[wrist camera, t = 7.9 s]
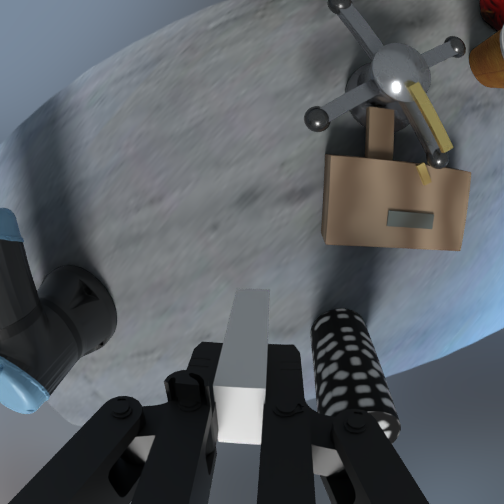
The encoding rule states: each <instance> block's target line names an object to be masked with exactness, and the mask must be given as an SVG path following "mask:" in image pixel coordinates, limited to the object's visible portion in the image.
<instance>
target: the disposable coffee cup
mask: <svg viewBox="0 0 504 504" xmlns="http://www.w3.org/2000/svg"><path fill="white" fill-rule="evenodd" d="M469 63H470V67H471V70H472V72H473V74H474V76H475V77H476V79H477V80H478V81H479V82H480V83H481V84H483V85H484V86H486V87H490V88H504V25H503V27H502V29H501V30H499V31H498V32H496V33H495V34H494V35H492V36H491V37H489V38H488V39H487V40H485V41H484V42H482V43H481V44H480V45H478V46H477V47H475V48H474V49H473V50H472V51H471V53H470V56H469Z"/></svg>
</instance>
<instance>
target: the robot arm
mask: <svg viewBox="0 0 504 504" xmlns="http://www.w3.org/2000/svg"><path fill="white" fill-rule="evenodd" d="M23 242H24V240H23V238H22V237H21V234H20V231H19V228H18V224H17V220H16V217H15V215H14V213H13V212H12V211H11V210H9V209H7V208H0V403H2V404H3V405H5V406H6V407H8V408H10V409H11V410H14V411H16V412H19V413H22V414H31V413H33V412H35V411H36V410H37V409H38V408H39V407H40V406H41V405H42V404H43V403H44V402H45V401H47V400H48V399H49V397H50V395H51V394H52V393H53V391H54V390H55V389H56V388H57V386H58V385H59V384H60V382H61V381H62V380H63V379H64V377H65V376H66V375H67V373H68V372H69V371H70V370H71V368H72V367H73V366H74V365H75V363H76V362H77V361H78V360H79V359H80V358H81V357H83V356H85V355H87V354H89V353H91V352H94V351H95V350H98V349H100V348H101V347H103V346H104V345H105V344H106V343H107V342H108V341H109V340H110V338H111V337H112V336H113V334H114V332H115V330H116V325H117V315H116V310H115V306H114V304H113V301H112V299H111V297H110V295H109V293H108V292H107V290H106V289H105V287H104V286H103V285H102V284H101V283H100V281H99V280H98V279H97V278H95V277H94V276H93V275H92V274H90V273H89V272H87V271H86V270H84V269H82V268H79V267H76V266H71V265H66V266H61V267H59V268H57V269H55V270H54V271H52V272H51V273H49V274H48V275H47V276H46V277H45V279H44V280H43V282H42V284H41V286H40V288H39V289H38V291H37V290H36V287H35V284H34V281H33V277H32V274H31V271H30V267H29V264H28V260H27V256H26V252H25V248H24V244H23ZM269 295H270V290H265V289H237V290H236V294H235V298H234V302H233V306H232V310H231V314H230V318H229V322H228V326H227V330H226V334H225V338H224V342H223V343H213V342H201V343H200V344H199V345H198V346H197V347H196V348H195V349H194V351H193V353H192V356H191V359H190V362H189V364H188V367H187V370H181V371H177V372H174V373H172V374H171V375H169V376H168V377H167V378H166V379H165V381H164V384H165V389H166V394H167V398H168V402H167V403H164V404H161V405H155V406H143V407H142V405H141V404H140V402H139V401H138V400H136V399H134V398H133V397H128V396H118V397H115V398H112V399H110V400H109V401H107V402H106V403H105V404H104V405H103V406H102V407H101V408H100V409H99V410H98V411H97V412H96V413H95V414H94V415H93V416H92V417H91V418H90V419H89V420H88V421H87V422H86V423H85V424H84V425H83V427H82V428H81V429H80V430H79V431H78V432H77V433H76V434H75V435H74V436H73V437H72V438H71V439H70V440H69V441H68V442H67V443H66V444H65V445H64V446H63V447H62V448H61V449H60V450H59V451H58V452H57V454H55V456H54V457H53V458H52V459H51V460H50V461H49V462H48V463H47V464H46V465H45V466H44V467H43V468H42V469H41V470H40V471H39V472H38V473H37V474H36V475H35V476H34V477H33V478H32V479H31V480H30V481H29V483H28V484H27V485H26V486H25V487H24V488H23V489H22V490H21V491H20V492H19V493H18V494H17V495H16V496H15V497H14V498H13V499H12V500H11V501H10V502H9V503H8V504H130V502H131V504H208V500H209V495H210V489H211V484H212V478H213V473H214V467H215V461H216V456H217V451H216V441H217V437H218V441H219V442H228V443H243V444H261V452H260V467H259V481H258V495H257V504H316V503H315V487H314V474H318V475H320V477H321V479H322V482H323V484H324V487H325V489H326V491H327V494H328V496H329V499H330V501H331V504H429V502H428V501H427V500H426V498H425V496H424V494H423V493H422V491H421V490H420V488H419V487H418V485H417V483H416V482H415V480H414V479H413V477H412V475H411V474H410V472H409V471H408V469H407V468H406V466H405V464H404V463H403V461H402V460H401V458H400V456H399V455H398V453H397V452H396V450H395V449H394V447H393V445H392V444H391V442H390V441H389V439H388V438H387V436H386V434H385V433H384V431H383V430H382V428H381V427H380V425H379V423H378V422H377V420H376V419H375V418H374V417H373V416H372V415H371V414H370V413H368V412H366V411H364V410H360V409H347V410H344V411H342V412H340V413H339V414H338V415H337V416H336V417H333V416H328V415H324V414H321V413H318V412H316V411H314V410H312V409H311V408H310V407H309V406H308V405H307V404H306V402H305V398H304V388H303V378H302V367H301V357H300V352H299V351H298V349H297V348H296V347H295V346H294V345H281V344H268V326H269Z"/></svg>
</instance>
